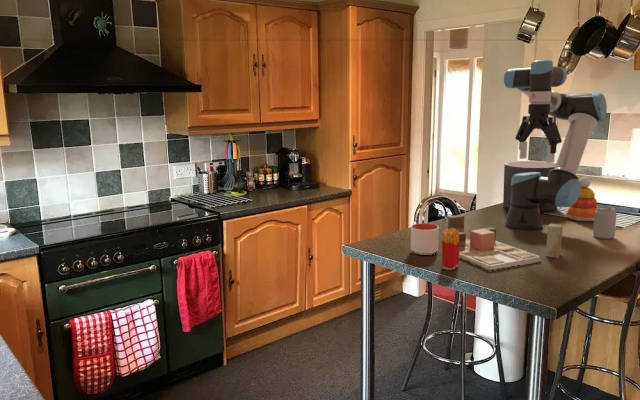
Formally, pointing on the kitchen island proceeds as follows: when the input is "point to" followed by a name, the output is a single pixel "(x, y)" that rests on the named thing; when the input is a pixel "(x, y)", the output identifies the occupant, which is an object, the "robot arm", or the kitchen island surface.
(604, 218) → the can
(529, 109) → the robot arm
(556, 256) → the box
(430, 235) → the cup
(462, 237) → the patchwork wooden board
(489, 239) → the cube
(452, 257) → the french fries
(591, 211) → the stacking toy
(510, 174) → the planter
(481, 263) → the lane board
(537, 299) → the kitchen island surface
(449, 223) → the brown upright blocks
